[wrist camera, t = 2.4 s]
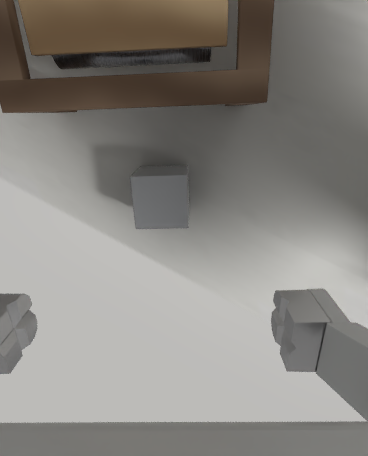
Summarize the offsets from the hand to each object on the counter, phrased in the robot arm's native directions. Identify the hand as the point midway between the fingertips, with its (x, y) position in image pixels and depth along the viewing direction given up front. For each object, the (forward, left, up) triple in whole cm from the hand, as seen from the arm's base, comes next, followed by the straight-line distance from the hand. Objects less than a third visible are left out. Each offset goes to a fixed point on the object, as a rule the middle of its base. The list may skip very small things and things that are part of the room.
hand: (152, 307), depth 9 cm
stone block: (-2, +2, -22) cm, 22 cm away
